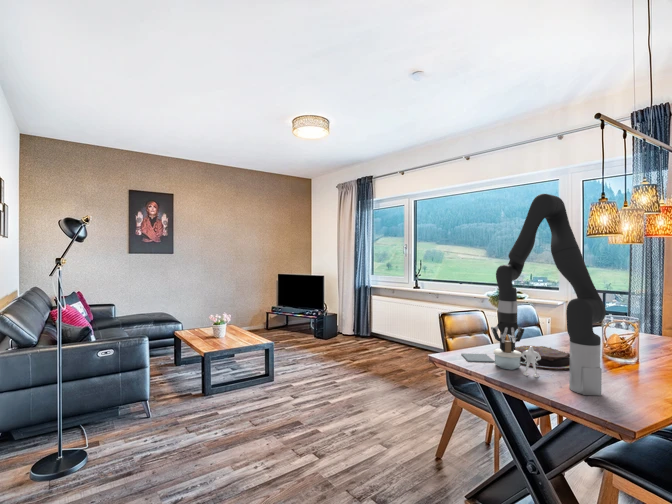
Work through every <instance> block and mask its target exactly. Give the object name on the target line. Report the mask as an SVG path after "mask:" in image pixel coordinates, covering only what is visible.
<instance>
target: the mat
mask: <svg viewBox="0 0 672 504" xmlns="http://www.w3.org/2000/svg"><path fill="white" fill-rule="evenodd" d="M461 356H462V357H463V358H464V359H465V360H466V361H467V362H468V363H495V359H493V358H491V357H490V356H489V355H488V354H487V353H464V352H463V353H462V352H461Z"/></svg>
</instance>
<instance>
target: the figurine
mask: <svg viewBox="0 0 672 504" xmlns="http://www.w3.org/2000/svg"><path fill="white" fill-rule="evenodd" d="M529 346H530V347H529V350H526V351H524V352H523V353H522V354H521V356H522V357H523V358H524V359H525V360H526V361H525V362H527V365H526V366H525V371H523V373H522V375H523V376H526V377H528V376H529V373H528V370H529V368H530V367H529V365H530V363H532V365H533V367H532V368H533V371H534V374H532V375H533V376H532V377H534V378H539V377H540V374H539V373H538V372H537V368H536V366H535V363H536V364H537V362H536V361H538V360H540V359H541V356H540V355H539V354H538V353H537V352H535V351H534V350H533V347H532V346H533V345H529ZM524 355H526V358H527V359H526V358H525V357H524ZM536 357H538V358H537V359H536ZM535 359H536V360H535ZM525 362H524V363H525Z"/></svg>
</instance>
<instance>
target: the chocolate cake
mask: <svg viewBox="0 0 672 504" xmlns="http://www.w3.org/2000/svg"><path fill="white" fill-rule="evenodd" d="M530 346H532V347H533V350H534V351H535V352H537V353H538V354H539V355H540V356H541V359H540V360H538V361H536V362H537V364H536V363H535V366H536V369H544V370H549V371H555V370H557V371H558V370H560V371H566V370H569V360H570V352H565V351H563V350H562V351H561V350H558V349H556V348H552V347H551V346H550V347H548V346H544V345H541V346H540V345H537V346H536V345H521V346H515V350H516V351H519V352H521V353H523V352H524V351H526V350H529V347H530ZM524 357H525V358H526V355H524ZM537 358H538V357H536V359H537ZM526 359H527V358H526ZM536 359H535V360H536ZM525 361H526V360H525V359H524V358H523V357H522V356H521V357H520V366H521V365H522V366H525V367H526V365H527V362H525ZM524 362H525V363H524ZM529 368H533V365H532V363H530V365H529Z"/></svg>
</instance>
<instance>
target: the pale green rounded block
mask: <svg viewBox="0 0 672 504" xmlns="http://www.w3.org/2000/svg"><path fill="white" fill-rule="evenodd" d="M494 361H495V362H494V364H495V365H496V366H498V368H499V369H503V370H517V369H519V368H520V367H521V364H520V357H519V358H507V357H501V356H498V355H495V354H494Z"/></svg>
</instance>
